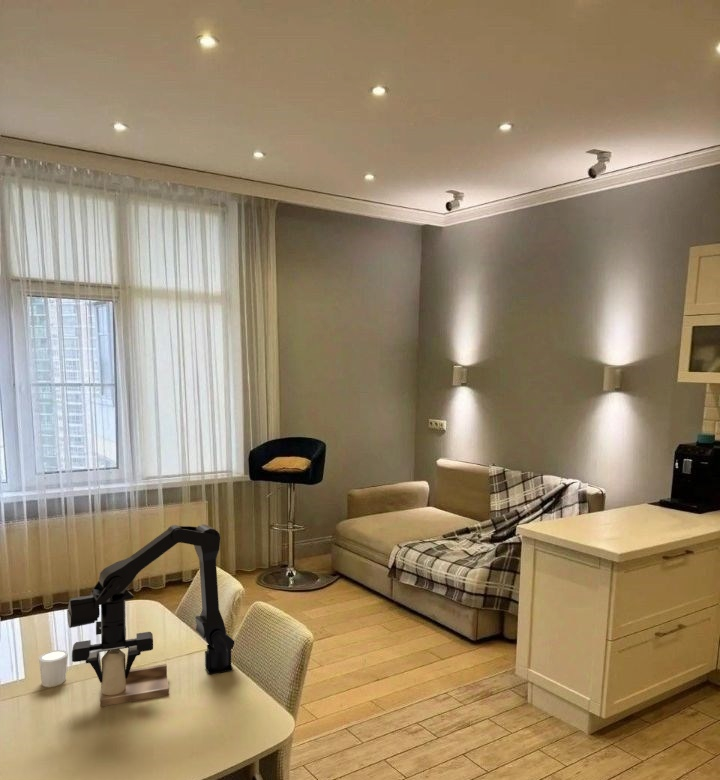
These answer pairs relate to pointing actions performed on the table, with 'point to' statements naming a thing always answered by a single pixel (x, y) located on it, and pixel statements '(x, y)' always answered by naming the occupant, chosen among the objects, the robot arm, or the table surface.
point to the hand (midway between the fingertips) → (113, 679)
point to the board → (140, 685)
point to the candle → (113, 672)
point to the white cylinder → (53, 667)
